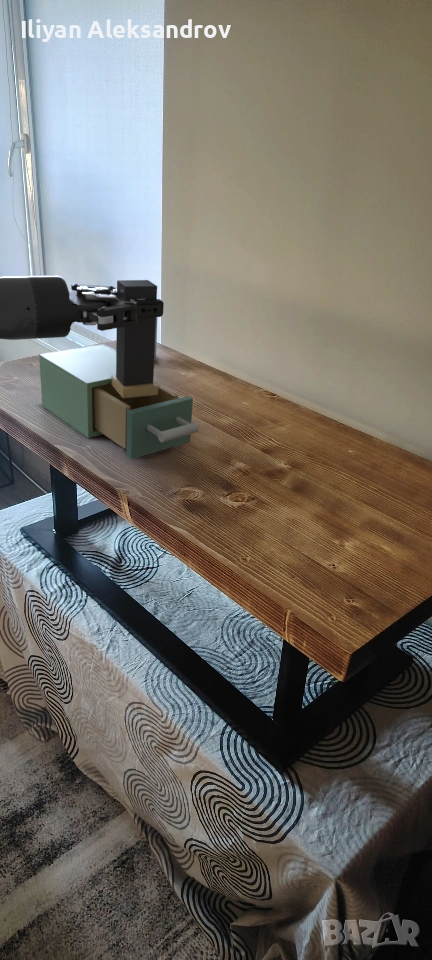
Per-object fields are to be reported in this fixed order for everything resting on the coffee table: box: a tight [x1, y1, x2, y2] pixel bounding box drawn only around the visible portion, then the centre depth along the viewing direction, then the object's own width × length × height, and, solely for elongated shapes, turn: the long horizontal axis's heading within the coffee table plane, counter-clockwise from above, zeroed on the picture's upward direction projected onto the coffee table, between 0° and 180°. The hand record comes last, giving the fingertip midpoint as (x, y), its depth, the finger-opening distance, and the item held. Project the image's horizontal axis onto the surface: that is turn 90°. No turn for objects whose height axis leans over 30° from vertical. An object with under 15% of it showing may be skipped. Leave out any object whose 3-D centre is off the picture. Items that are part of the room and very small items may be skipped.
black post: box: [111, 279, 159, 398], centre depth 86 cm, size 5×5×15 cm
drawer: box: [92, 383, 200, 460], centre depth 90 cm, size 17×10×7 cm, turn 41°
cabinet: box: [38, 343, 116, 439], centre depth 98 cm, size 14×12×9 cm
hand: (156, 303), depth 85 cm, fingers closed on black post, 3 cm apart
